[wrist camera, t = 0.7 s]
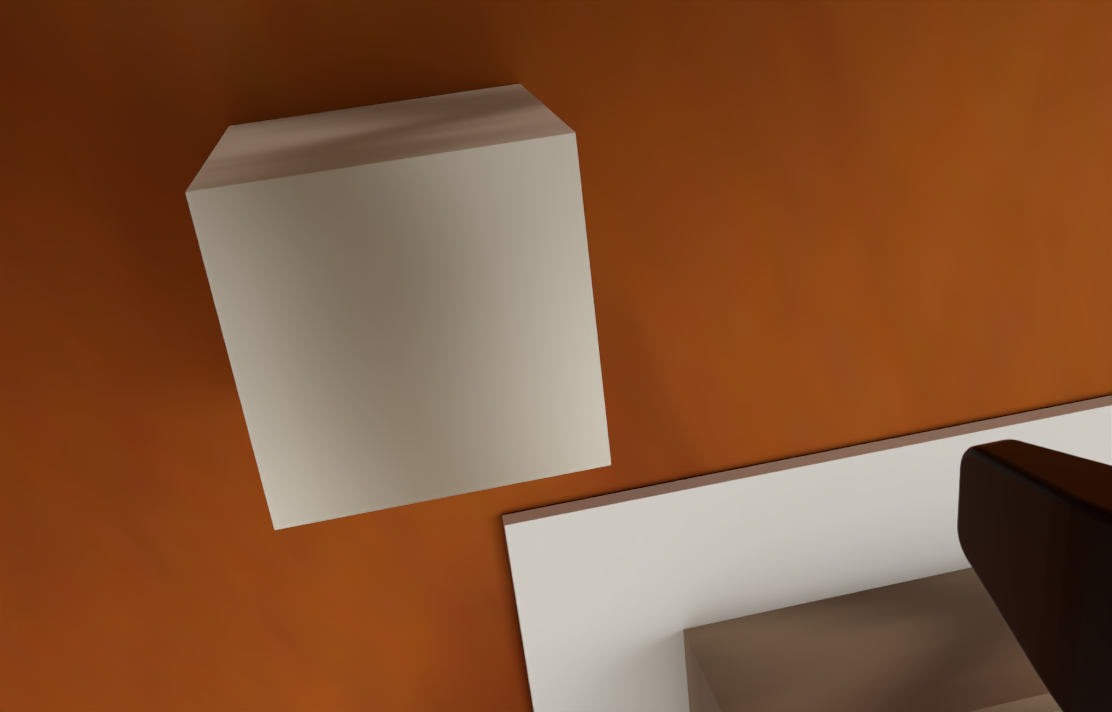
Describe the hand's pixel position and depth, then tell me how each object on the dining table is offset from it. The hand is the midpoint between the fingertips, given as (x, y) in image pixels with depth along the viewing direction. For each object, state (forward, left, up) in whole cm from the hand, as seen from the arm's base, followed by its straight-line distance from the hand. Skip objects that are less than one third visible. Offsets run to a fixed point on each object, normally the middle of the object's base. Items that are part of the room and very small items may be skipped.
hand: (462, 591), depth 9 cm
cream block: (0, 0, -11) cm, 11 cm away
